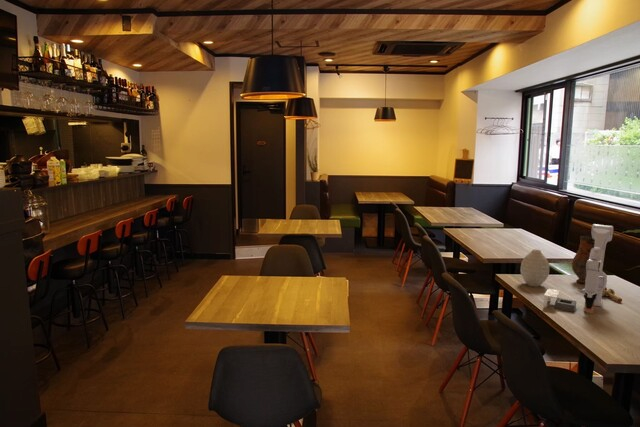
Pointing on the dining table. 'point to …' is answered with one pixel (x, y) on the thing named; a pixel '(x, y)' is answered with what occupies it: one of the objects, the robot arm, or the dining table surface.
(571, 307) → the socket
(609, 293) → the kendama
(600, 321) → the dining table surface
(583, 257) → the pitcher
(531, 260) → the vase
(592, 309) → the peg
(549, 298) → the beige block
